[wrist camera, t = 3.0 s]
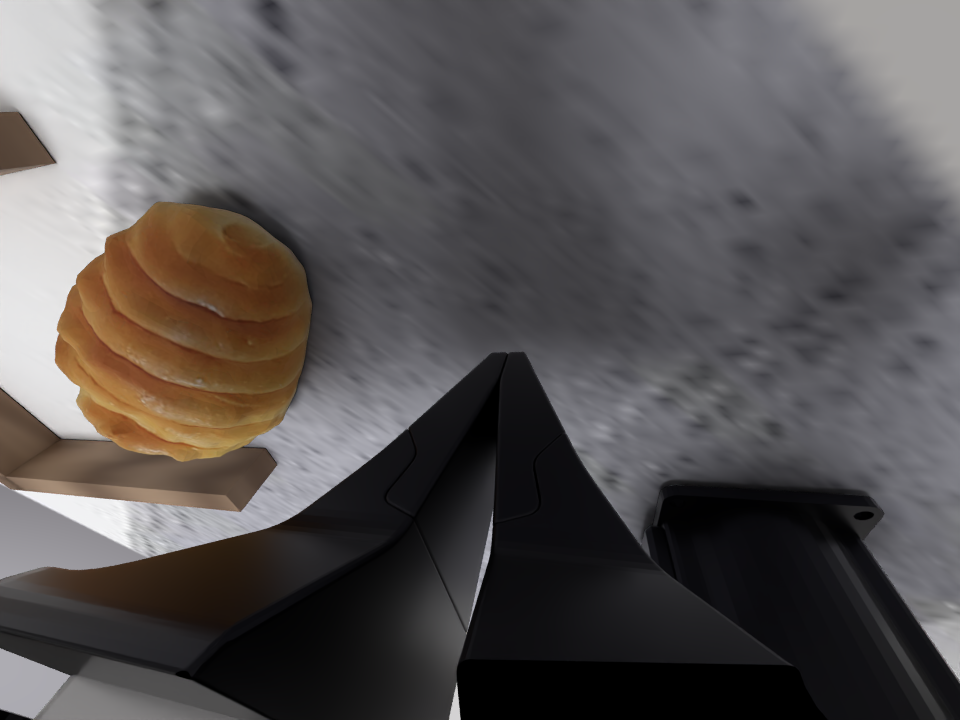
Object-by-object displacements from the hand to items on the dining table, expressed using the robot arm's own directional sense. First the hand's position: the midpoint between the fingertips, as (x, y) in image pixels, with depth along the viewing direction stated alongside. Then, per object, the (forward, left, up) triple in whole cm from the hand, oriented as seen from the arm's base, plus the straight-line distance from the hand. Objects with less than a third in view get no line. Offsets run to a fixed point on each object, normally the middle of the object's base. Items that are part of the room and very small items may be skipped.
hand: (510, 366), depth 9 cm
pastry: (+11, -1, -2) cm, 11 cm away
